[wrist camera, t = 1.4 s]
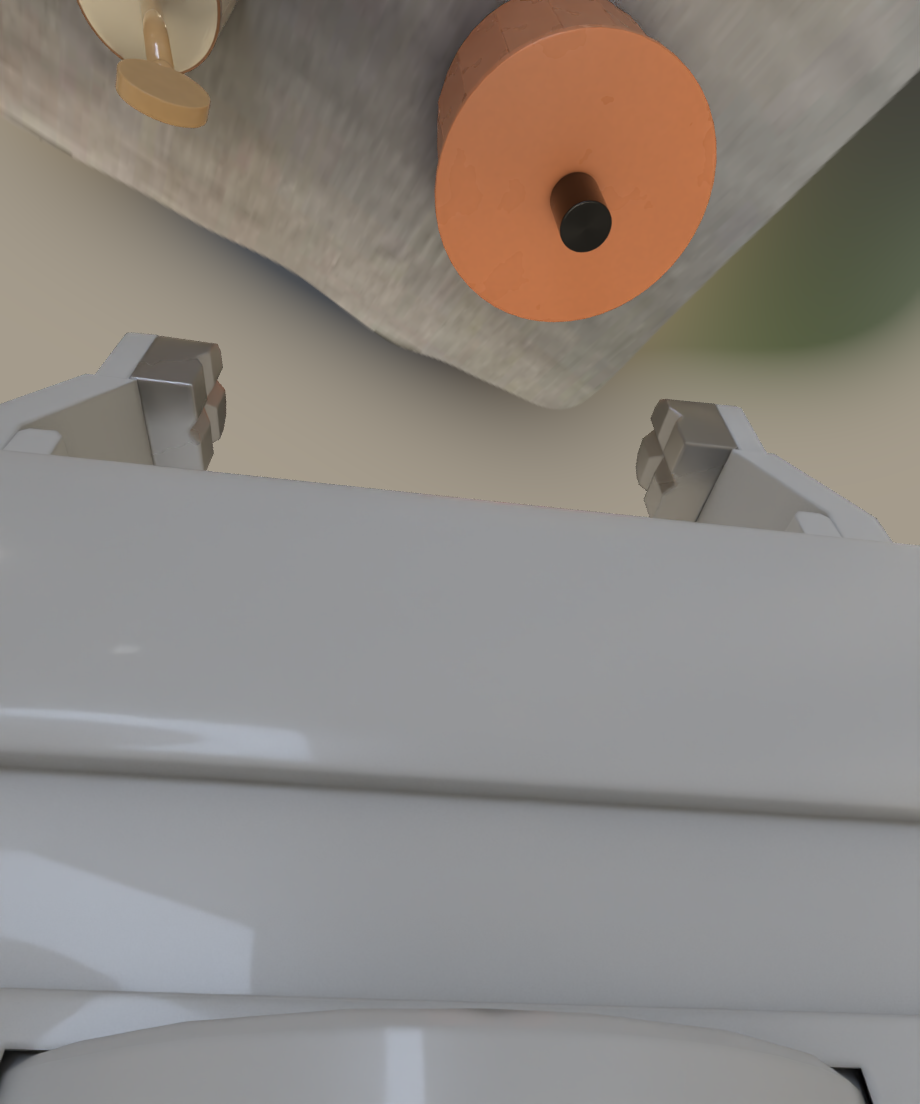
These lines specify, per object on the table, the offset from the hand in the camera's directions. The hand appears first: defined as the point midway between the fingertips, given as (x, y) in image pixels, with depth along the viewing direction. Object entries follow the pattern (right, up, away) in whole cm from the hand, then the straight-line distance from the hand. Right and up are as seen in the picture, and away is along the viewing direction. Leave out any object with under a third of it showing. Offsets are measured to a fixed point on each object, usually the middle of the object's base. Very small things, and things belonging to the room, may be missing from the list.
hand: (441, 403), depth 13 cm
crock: (-13, +26, +20) cm, 35 cm away
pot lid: (+6, +15, +21) cm, 26 cm away
